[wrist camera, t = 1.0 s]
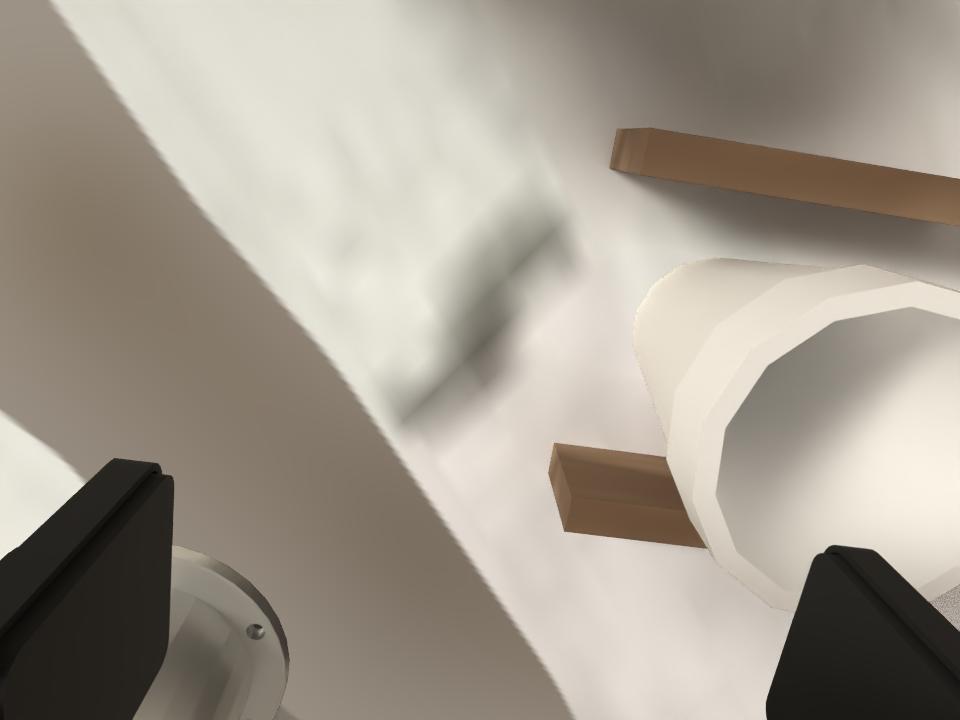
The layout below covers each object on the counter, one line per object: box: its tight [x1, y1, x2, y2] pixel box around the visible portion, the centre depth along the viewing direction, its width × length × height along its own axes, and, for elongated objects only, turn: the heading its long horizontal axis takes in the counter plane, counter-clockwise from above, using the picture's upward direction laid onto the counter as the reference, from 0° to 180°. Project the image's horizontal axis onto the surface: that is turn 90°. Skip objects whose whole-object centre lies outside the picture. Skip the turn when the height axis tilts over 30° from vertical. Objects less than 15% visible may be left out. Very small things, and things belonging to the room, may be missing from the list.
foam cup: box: [633, 258, 960, 612], centre depth 24 cm, size 10×9×13 cm
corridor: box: [548, 128, 960, 549], centre depth 28 cm, size 15×14×6 cm
